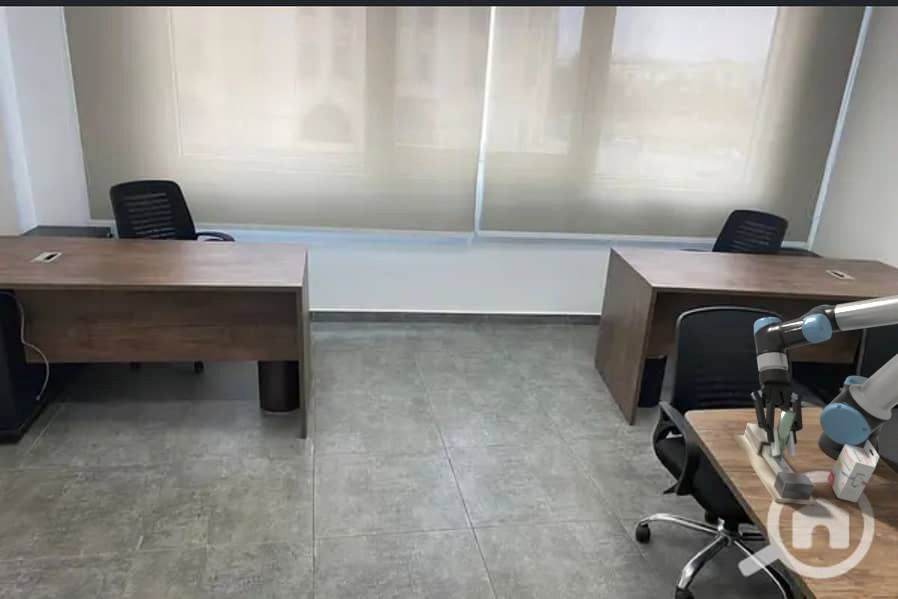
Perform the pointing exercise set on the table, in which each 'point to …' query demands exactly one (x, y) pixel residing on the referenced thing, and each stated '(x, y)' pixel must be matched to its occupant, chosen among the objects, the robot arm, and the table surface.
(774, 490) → the tube rig
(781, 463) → the tube
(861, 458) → the ink cartridge box
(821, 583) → the table surface
